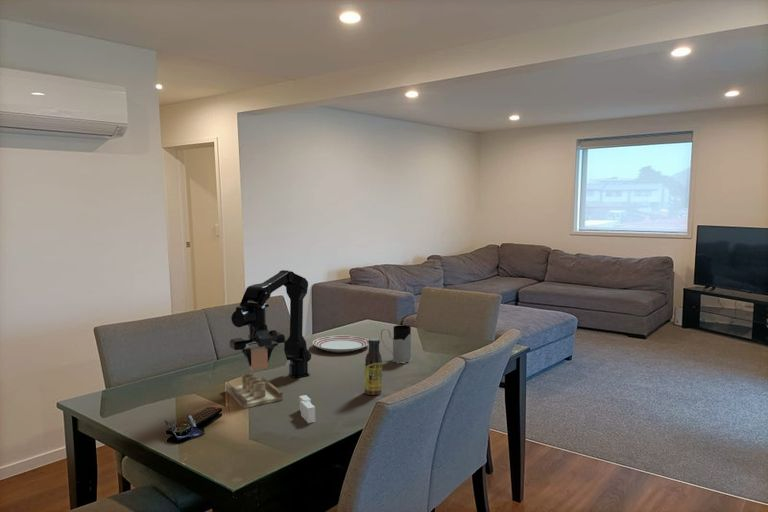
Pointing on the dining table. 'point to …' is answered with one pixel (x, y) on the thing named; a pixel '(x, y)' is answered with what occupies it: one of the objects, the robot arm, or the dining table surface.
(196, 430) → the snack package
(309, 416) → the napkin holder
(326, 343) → the dinner plate
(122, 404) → the dining table surface
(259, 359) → the pink clay brick
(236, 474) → the dining table surface
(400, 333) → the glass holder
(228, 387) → the dish rack
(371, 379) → the sauce bottle
